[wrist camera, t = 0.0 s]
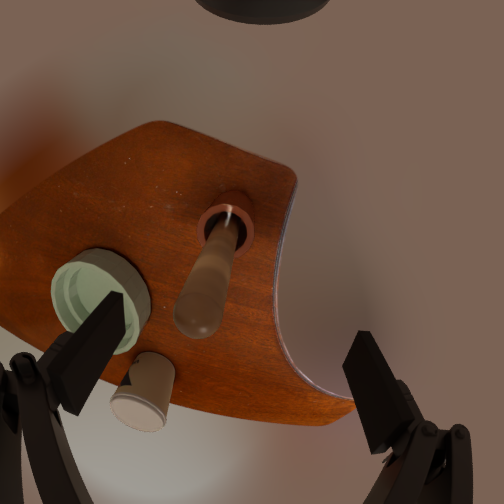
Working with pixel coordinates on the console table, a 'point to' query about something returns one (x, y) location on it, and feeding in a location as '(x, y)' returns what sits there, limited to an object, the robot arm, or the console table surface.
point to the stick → (208, 281)
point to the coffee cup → (144, 393)
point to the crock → (234, 204)
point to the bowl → (100, 292)
